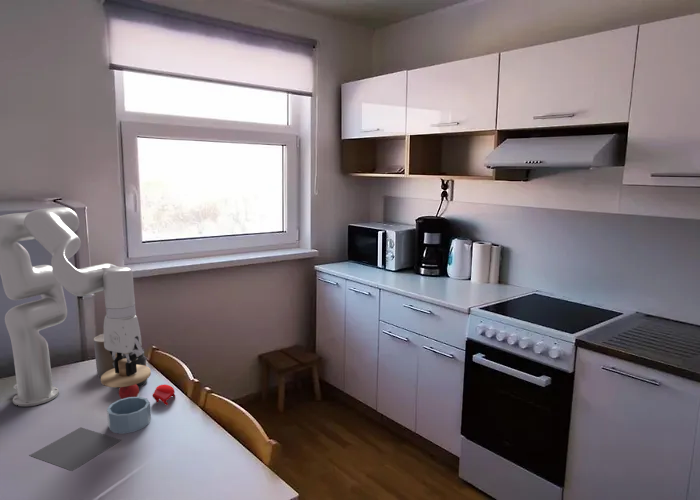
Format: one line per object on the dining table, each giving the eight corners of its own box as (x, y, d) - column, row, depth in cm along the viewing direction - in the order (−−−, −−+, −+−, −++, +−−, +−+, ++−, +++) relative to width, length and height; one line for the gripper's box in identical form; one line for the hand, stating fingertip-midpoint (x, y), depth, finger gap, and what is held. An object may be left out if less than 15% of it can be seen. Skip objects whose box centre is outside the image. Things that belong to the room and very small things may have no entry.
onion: (132, 407, 154) (130, 383, 153) (115, 405, 155) (113, 382, 154) (143, 398, 160) (141, 375, 158) (127, 397, 161) (125, 374, 160)
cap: (162, 400, 152) (176, 385, 156) (148, 391, 154) (161, 376, 157) (168, 411, 158) (181, 396, 162) (154, 402, 160) (167, 387, 163)
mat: (29, 457, 128) (29, 455, 128) (80, 429, 142) (80, 427, 142) (72, 473, 122) (72, 470, 122) (121, 441, 136) (121, 439, 135)
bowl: (100, 429, 141) (98, 410, 140) (131, 412, 151) (129, 394, 150) (129, 438, 137) (127, 418, 136) (158, 419, 147) (157, 401, 146)
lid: (90, 382, 138) (88, 365, 137) (127, 364, 150) (126, 349, 149) (124, 390, 133) (123, 373, 132) (160, 372, 145) (159, 356, 144)
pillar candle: (132, 370, 182) (128, 331, 179) (108, 380, 173) (104, 339, 171) (114, 365, 186) (111, 327, 184) (90, 374, 178) (86, 335, 175)
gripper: (88, 311, 138) (94, 373, 141) (132, 319, 131) (137, 383, 135) (110, 304, 145) (115, 363, 148) (153, 311, 138) (158, 372, 141)
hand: (126, 372), depth 141 cm, fingers closed on lid, 3 cm apart
